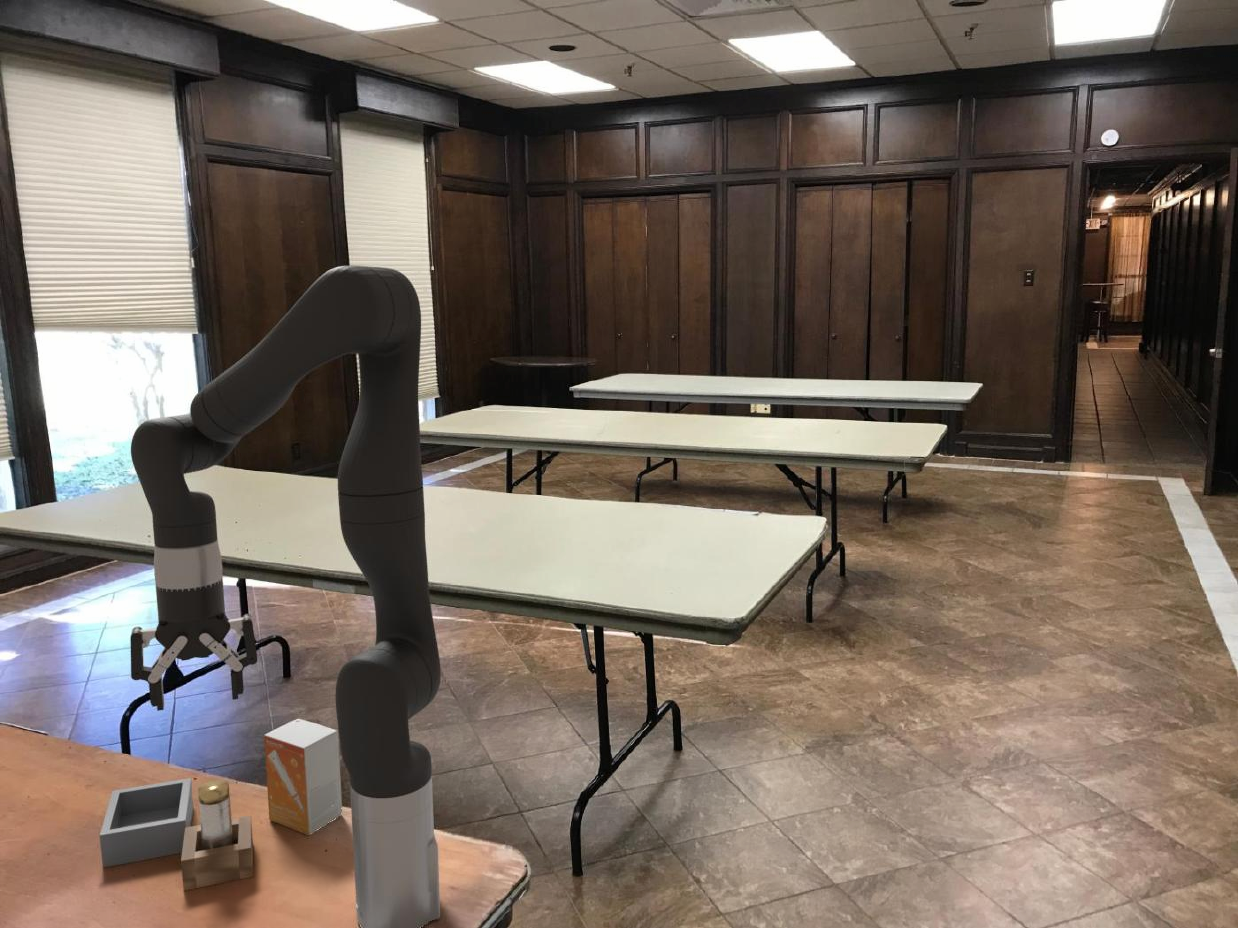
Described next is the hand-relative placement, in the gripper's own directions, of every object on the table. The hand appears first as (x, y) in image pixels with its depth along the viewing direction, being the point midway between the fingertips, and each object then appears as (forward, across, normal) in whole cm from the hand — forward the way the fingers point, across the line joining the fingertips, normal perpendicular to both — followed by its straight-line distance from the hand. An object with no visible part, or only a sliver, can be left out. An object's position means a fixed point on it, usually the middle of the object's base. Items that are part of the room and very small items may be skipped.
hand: (198, 702), depth 118 cm
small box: (+22, +12, +7) cm, 26 cm away
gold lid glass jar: (+22, +1, -1) cm, 22 cm away
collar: (+22, +1, -1) cm, 22 cm away
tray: (+22, -8, +10) cm, 26 cm away
